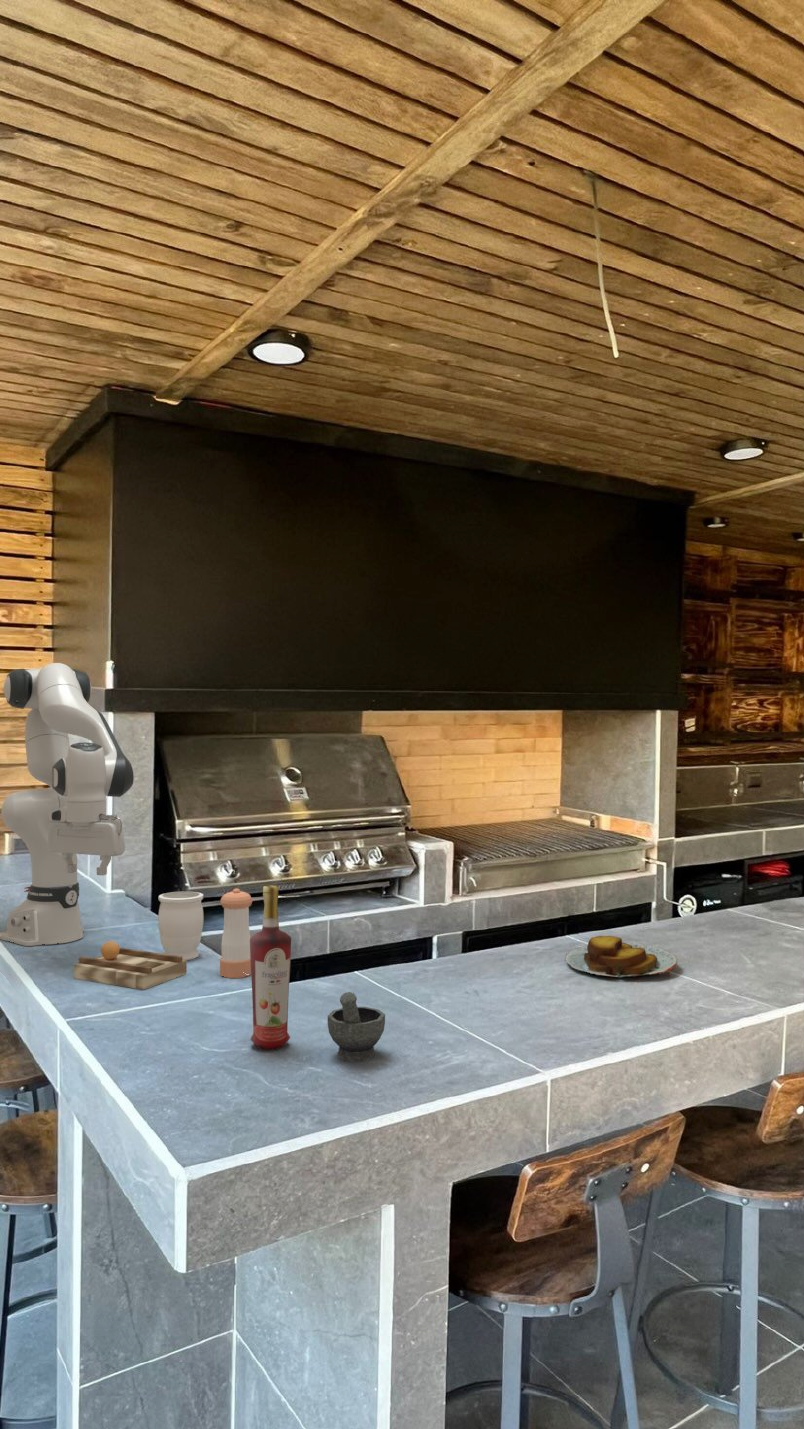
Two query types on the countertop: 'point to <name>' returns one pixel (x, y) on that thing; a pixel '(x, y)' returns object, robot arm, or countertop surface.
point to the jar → (181, 923)
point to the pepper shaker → (236, 935)
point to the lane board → (131, 969)
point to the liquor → (270, 977)
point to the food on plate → (620, 958)
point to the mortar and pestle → (355, 1029)
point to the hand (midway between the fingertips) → (86, 873)
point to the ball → (110, 950)
